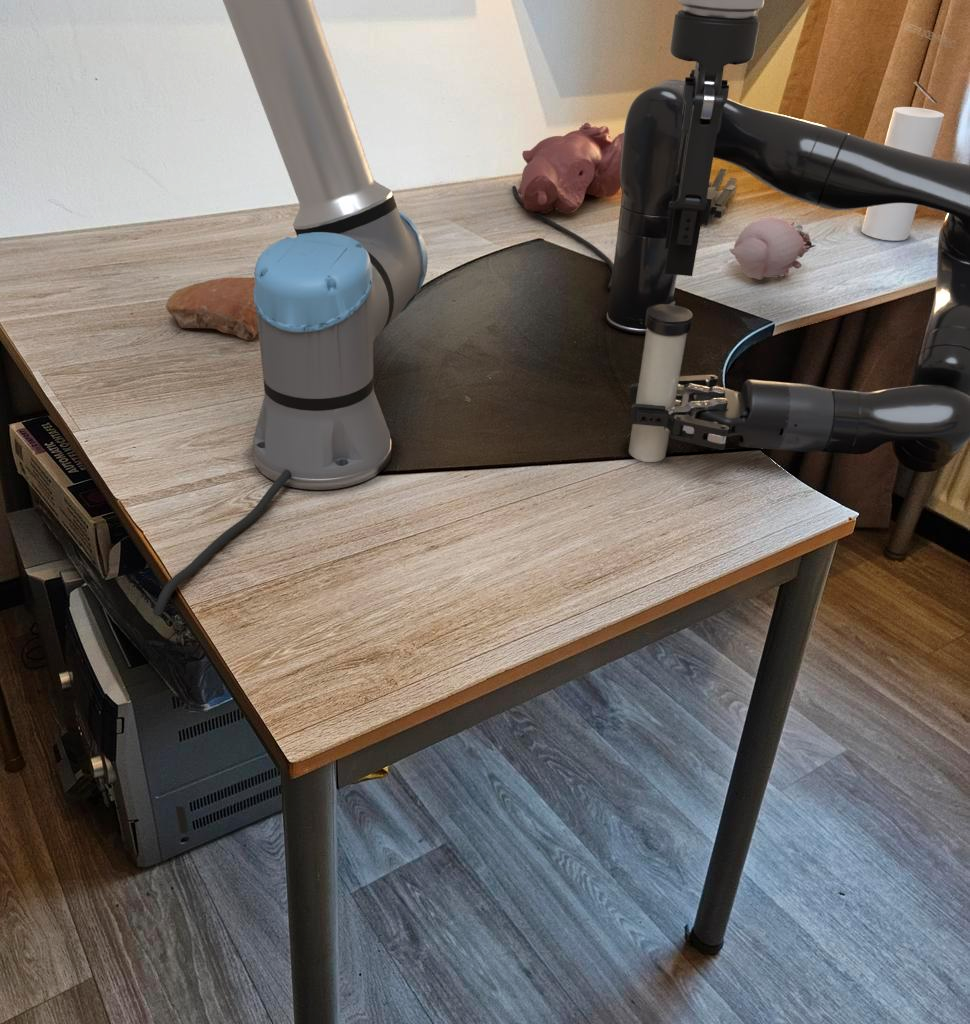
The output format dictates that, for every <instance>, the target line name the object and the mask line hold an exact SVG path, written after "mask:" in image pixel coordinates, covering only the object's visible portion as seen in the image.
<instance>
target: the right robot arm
mask: <svg viewBox="0 0 970 1024" xmlns="http://www.w3.org/2000/svg"><path fill="white" fill-rule="evenodd" d="M684 83H685V79H679V78H678V79H667V80H663V81H660V82H659V83H656V84H654V85H653V86H651V87H649V88H646V89H645V90H643V91H642V92H641V93H639V94H638V95H637V96H636V98H634V99H633V101H632V102H631V104H630V106H629V108H628V111H627V115H626V117H625V123H624V130H623V133H624V137H623V147H622V158H621V170H620V185H621V187H620V189H621V201H620V210H619V218H618V226H617V235H616V243H615V251H614V259H613V261H612V260H611V259H610V257H608V256H607V255H606V254H605V253H603V252H602V250H600V249H599V248H598V247H596V246H595V245H593V244H592V243H591V242H589V241H587V240H586V239H584V238H582V237H581V236H579V235H578V234H576V233H575V232H573V231H571V230H570V229H567V228H566V227H564V226H562V225H560V224H558V223H557V222H555V221H553V220H552V219H550V218H548V217H547V216H544V215H543V214H542V213H538V212H533V211H530V210H529V209H528V210H527V209H526V208H525V207H524V204H523V202H522V201H521V195H520V194H518V188H517V186H516V185H513V186H511V188H512V191H513V196H514V198H515V199H516V200H517V202H518V203H519V204H520V205H521V206H522V207H523V208H524V209H525V210H527V212H529V213H531V215H533V216H535V217H536V218H538V219H540V220H541V221H543V222H544V223H546V224H547V225H549V226H551V227H553V228H554V229H557V230H558V231H560V232H562V233H564V234H565V235H567V236H569V237H571V239H574V240H575V241H577V242H579V243H580V244H582V245H583V246H585V247H587V248H588V249H589V250H591V251H592V252H593V253H595V254H596V255H597V256H598V257H599V258H601V260H603V261H604V262H605V264H607V266H608V267H609V268H610V272H611V275H610V280H609V282H608V286H607V288H608V290H609V292H610V293H609V298H608V306H607V312H606V317H605V319H606V322H607V324H608V325H610V326H611V328H614V329H616V330H618V331H622V332H625V333H630V334H636V335H646V329H647V327H646V326H645V319H646V312H647V309H648V308H649V307H650V306H653V305H658V304H670V305H676V301H675V300H674V296H675V289H676V285H677V284H676V283H677V277H678V275H674V274H665V266H666V260H667V253H668V249H665V243H666V236H667V230H668V223H669V217H670V210H671V209H669V202H670V201H672V197H673V190H674V184H679V185H680V183H679V182H676V179H675V175H676V173H677V169H676V163H677V162H678V158H679V151H680V145H681V139H682V132H683V130H682V126H683V123H682V111H683V105H684V97H683V90H684ZM713 159H717V160H721V161H724V162H726V163H729V164H732V165H734V166H736V167H738V168H739V169H741V170H743V171H744V172H746V173H748V174H749V175H750V176H752V177H754V178H755V179H757V180H758V181H759V182H761V183H762V184H764V185H765V186H767V187H769V188H770V189H772V190H774V191H776V192H778V193H780V194H782V195H784V196H787V197H789V198H791V199H795V200H797V201H800V202H803V203H806V204H810V205H812V206H816V207H819V208H822V209H826V210H829V211H850V210H858V209H867V208H868V207H872V206H878V205H885V204H893V203H908V204H916V205H918V206H921V207H926V208H928V209H932V210H933V209H934V210H936V211H940V212H943V213H946V216H945V218H944V220H943V222H942V224H941V227H940V230H939V233H938V242H937V259H936V260H937V263H936V269H937V270H936V283H935V291H934V298H933V301H932V302H933V303H932V306H931V310H930V314H929V317H928V320H927V323H926V327H925V330H924V333H923V337H922V340H921V344H920V348H919V353H918V356H917V360H916V365H915V370H914V374H913V377H912V380H911V383H910V385H908V386H900V387H899V386H898V387H892V388H890V387H889V388H885V389H879V390H874V391H859V390H849V389H837V388H826V387H822V386H817V385H812V384H805V383H793V382H782V381H773V380H772V381H771V380H758V379H747V380H745V381H743V383H742V385H741V388H739V389H738V390H734V389H730V388H726V387H722V386H721V387H720V386H719V385H718V379H719V377H718V376H717V375H715V374H698V375H680V377H679V383H678V389H677V394H676V400H675V406H674V407H668V408H667V410H666V408H665V406H657V405H646V404H635V403H636V396H637V389H638V383H632V384H630V385H629V386H630V387H629V392H628V401H629V403H630V404H632V405H631V406H630V412H629V422H630V424H631V425H632V424H638V425H650V426H661V427H664V430H666V431H670V435H669V438H670V439H672V440H675V441H678V442H684V443H687V444H691V445H697V446H701V447H705V448H709V449H714V450H717V451H722V450H725V448H726V443H727V440H728V437H734V439H735V442H736V444H737V445H738V446H739V447H741V448H751V449H763V450H774V451H775V450H776V451H787V452H799V453H804V452H805V453H806V452H807V453H808V452H825V453H836V454H846V455H865V454H868V453H871V452H873V451H874V450H876V449H877V448H879V447H881V446H882V445H884V444H886V443H890V442H891V447H892V451H893V453H894V456H895V457H896V458H897V460H898V461H899V462H900V463H901V464H902V466H904V467H905V468H907V469H909V470H910V471H913V472H916V473H917V472H918V473H931V472H935V471H938V470H940V469H942V468H944V467H945V466H946V465H948V464H949V463H950V462H951V461H953V459H954V458H955V457H956V456H957V454H958V453H959V452H960V451H961V450H962V449H963V447H964V446H966V444H967V443H968V442H969V441H970V164H966V163H961V162H956V161H951V160H947V159H941V158H936V157H933V156H932V157H927V156H923V155H919V154H915V153H911V152H908V151H904V150H901V149H897V148H893V147H890V146H886V145H884V144H882V143H879V142H875V141H873V140H869V139H867V138H864V137H860V136H858V135H855V134H852V133H848V132H846V131H842V130H839V129H836V128H832V127H829V126H827V125H823V124H819V123H815V122H811V121H808V120H804V119H799V118H796V117H792V116H787V115H784V114H779V113H775V112H770V111H766V110H760V109H757V108H753V107H750V106H747V105H744V104H742V103H739V102H736V101H733V100H731V99H730V98H728V99H727V102H726V104H725V105H724V107H723V114H722V120H721V127H720V131H719V133H718V134H717V137H716V143H715V149H714V156H713Z"/></svg>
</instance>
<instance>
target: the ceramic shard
mask: <svg viewBox="0 0 970 1024" xmlns="http://www.w3.org/2000/svg"><path fill="white" fill-rule="evenodd" d="M254 286H255V277H221V278H217V279H216V278H215V279H211V280H206V281H204V282H198V283H194V284H191V285H188V286H186V287H182V288H180V289H177V290H176V291H175V292H174V293H173V294H171V295H170V296H169V298H168V299H167V302H166V304H165V308H166V311H167V312H168V313H169V314H170V315H172V317H174V319H175V321H176V323H177V324H178V325H179V327H181V328H183V329H213V330H217V331H219V332H221V333H223V334H230V335H233V336H237V337H238V338H240V339H242V340H246V341H251V340H252V341H253V339H255V338H256V336H257V334H259V331H258V321H257V312H256V306H255V303H254Z"/></svg>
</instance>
